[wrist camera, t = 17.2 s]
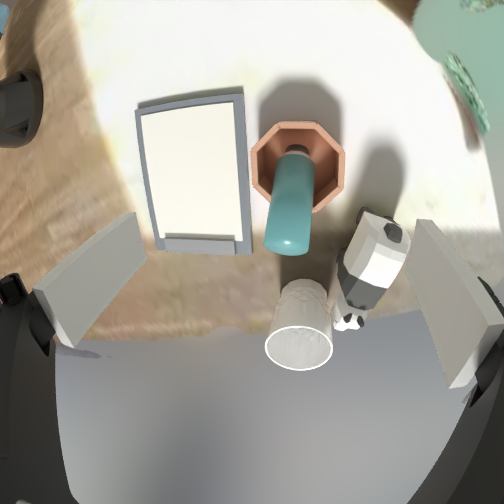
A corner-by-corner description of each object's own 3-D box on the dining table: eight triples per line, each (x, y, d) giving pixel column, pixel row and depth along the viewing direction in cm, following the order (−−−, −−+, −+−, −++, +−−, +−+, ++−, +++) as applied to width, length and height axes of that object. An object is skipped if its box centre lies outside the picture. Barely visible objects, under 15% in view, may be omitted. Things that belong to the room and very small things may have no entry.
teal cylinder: (274, 141, 27) (257, 237, 24) (312, 138, 26) (303, 238, 22) (284, 164, 31) (271, 254, 27) (319, 162, 29) (311, 256, 25)
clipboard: (138, 109, 30) (131, 110, 29) (243, 93, 27) (239, 92, 26) (159, 246, 40) (154, 252, 38) (252, 251, 37) (250, 257, 36)
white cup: (301, 263, 36) (296, 314, 28) (343, 296, 38) (346, 349, 29) (265, 298, 40) (251, 349, 32) (305, 325, 41) (300, 377, 33)
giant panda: (362, 195, 30) (379, 229, 22) (401, 212, 30) (427, 249, 22) (318, 291, 38) (316, 341, 30) (353, 302, 38) (358, 352, 30)
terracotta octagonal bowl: (257, 121, 29) (248, 123, 25) (340, 122, 27) (345, 124, 23) (261, 198, 33) (253, 211, 29) (338, 200, 31) (342, 214, 27)
